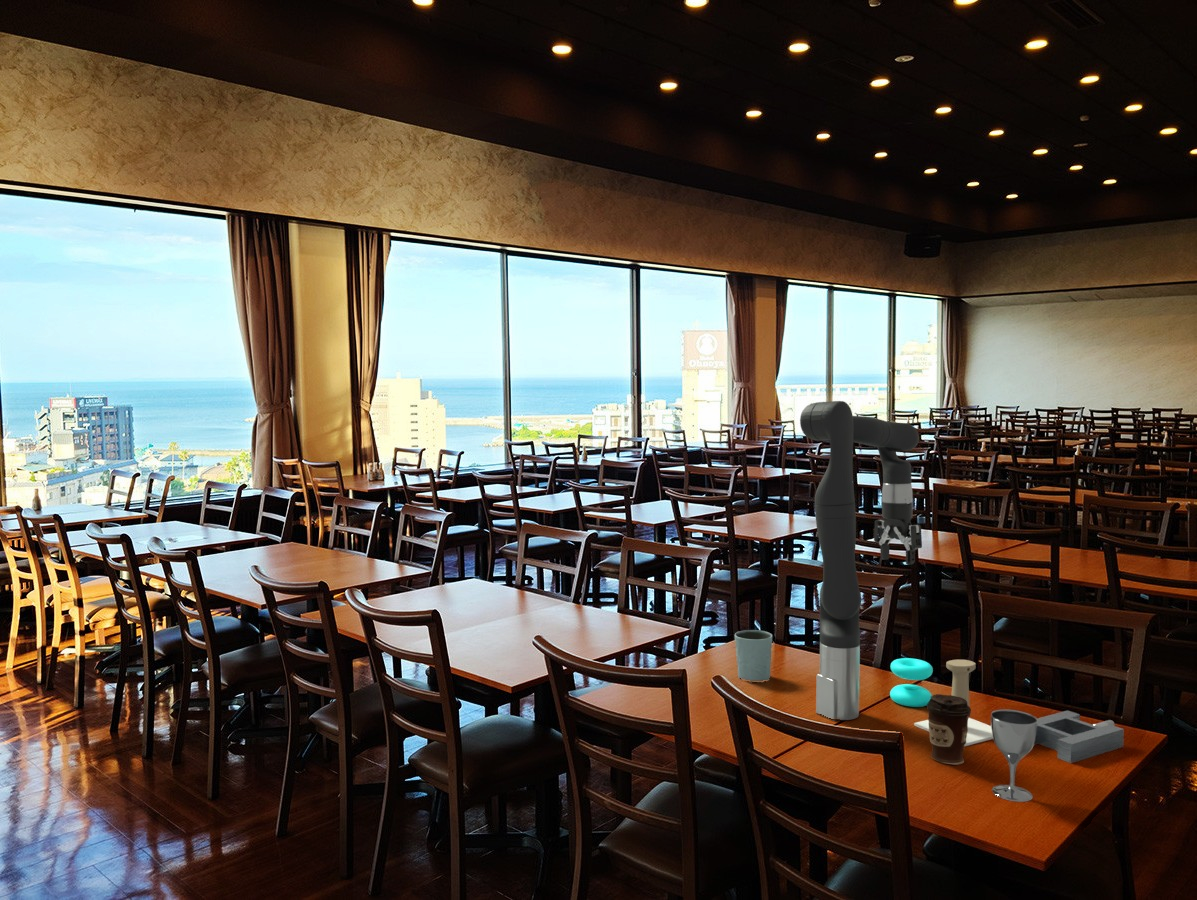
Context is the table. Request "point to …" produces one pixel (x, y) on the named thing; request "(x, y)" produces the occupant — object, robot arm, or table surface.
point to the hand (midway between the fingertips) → (897, 561)
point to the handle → (961, 677)
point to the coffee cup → (948, 727)
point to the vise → (1077, 736)
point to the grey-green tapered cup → (753, 654)
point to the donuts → (909, 692)
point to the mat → (974, 734)
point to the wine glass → (1013, 747)
